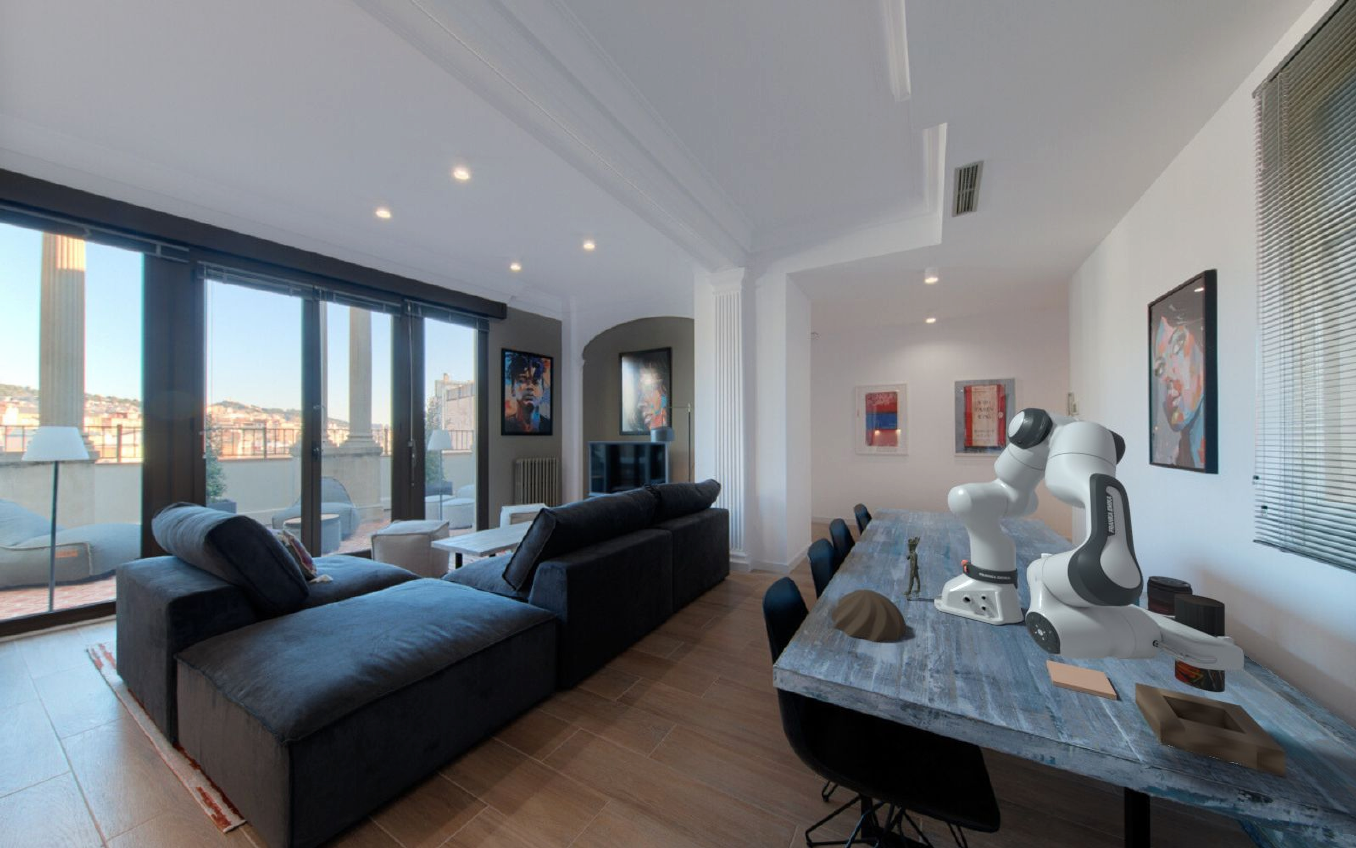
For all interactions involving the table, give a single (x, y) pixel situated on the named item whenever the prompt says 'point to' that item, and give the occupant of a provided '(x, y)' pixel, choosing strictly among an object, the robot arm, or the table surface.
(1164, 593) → the camera lens
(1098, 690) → the terracotta tile
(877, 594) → the decorative dome
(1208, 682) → the deodorant
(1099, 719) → the table surface
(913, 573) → the statue
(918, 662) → the table surface
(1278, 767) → the block
